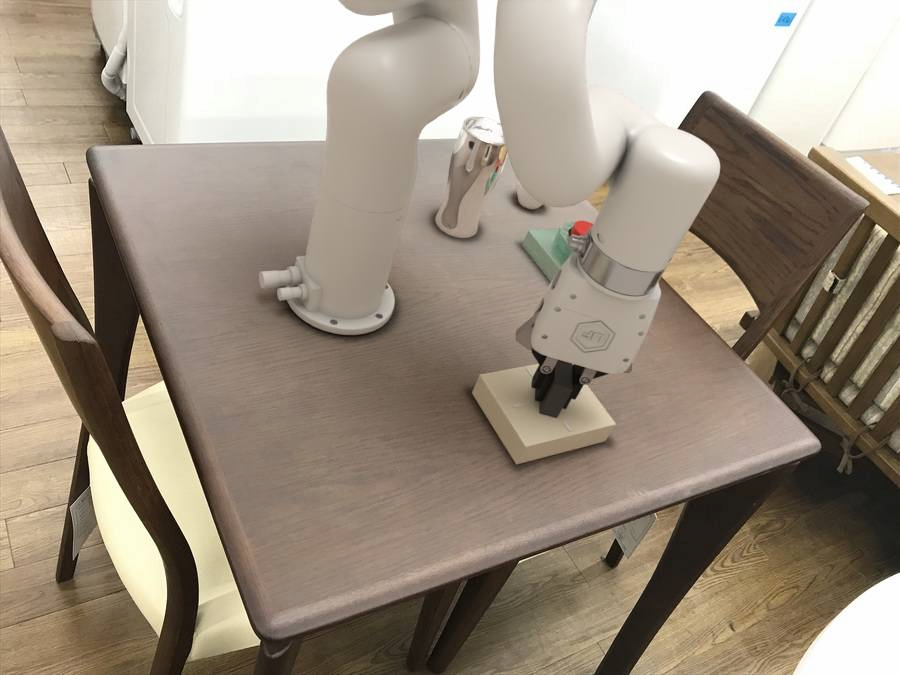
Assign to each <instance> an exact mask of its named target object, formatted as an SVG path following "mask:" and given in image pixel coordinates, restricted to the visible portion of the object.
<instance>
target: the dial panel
mask: <svg viewBox="0 0 900 675" xmlns="http://www.w3.org/2000/svg"><path fill="white" fill-rule="evenodd" d="M538 366H539V363H535V364H529V365H525V366H524V365H523V366H519V367H514V368H508V369H502V370H498V371H491V372H486V373H481V374H479V376H478V378H477V380H476V382H475V385H474V387H473V389H472V392H471V394H472V396H473V397H474V399H475V401H476V402H477V404H478V406H479V407H480V409H481V411H482V412H483V413H484V415H485V417H486V419H487V420H488V421H489V424H490V425H491V427H492V428H493V430H494V431H495V433H496V434H497V436H498V438H499V439H500V441H501V443H502V444H503V446H504V448H505V449H506V450H507V452H508V454H509V455H510V457H511V459H512V461H513V463H514V464H515V465H520V464H524V463H528V462H531V461H536V460H539V459H543V458H546V457H551V456H554V455H559V454H562V453H566V452H570V451H575V450H577V449H581V448H584V447H585V448H586V447H589V446H593V445H597V444H601V443H603V442H606V441H607V439H608V438H609V436H610V435H611V433H612V431H613V430H614V429H615V427H616V426H617V423H616V422H615V421H614V419H613V418H612V416H611V415H610V414H609V413H608V411H607V410H606V408H605V407H604V405H603V404H602V403H601V402H600V400H599V399H598V398H597V396H596V395H595V394H594V392H593V391H592V389H591V388H590V386H588V384H587V385H583V387H582V389H581V391H580V392H579V394H578V396H577V398H576V399H575V400H574V399H571V401H570V403H569V405H568V406H567V408H566V409H563V408H562V410H561V412H560V414H559V415H558V417H557V418H555V417H551V416H547V415H544V414H540V413H539V402H538V401H535V389H534V388H532V387H531V383H532V378H533V376H534V374H535V372H536V370H537V368H538Z"/></svg>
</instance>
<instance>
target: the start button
mask: <svg viewBox="0 0 900 675" xmlns="http://www.w3.org/2000/svg"><path fill="white" fill-rule="evenodd" d="M574 222H575V223H574V225H573V228H572V230H571V232H570V236H571V234H573V235H577V236H579V235H582V236H584V234H585V233H587V232H588V230H589V227H592V226H593V224H594V223H592V222H591V221H586V220H576V221H574Z"/></svg>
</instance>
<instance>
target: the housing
mask: <svg viewBox="0 0 900 675" xmlns="http://www.w3.org/2000/svg"><path fill="white" fill-rule="evenodd" d="M575 222H576V221H567V222H565V223H564V224H562V225H561V226H560V227H556V228H554V227H553V228H539V229H529V230H527V232H526V235H525V237H524V239H523V242H522V245H521V247H522V248H523V249H524V250H525V252H526V253H527V254H528V255H529V257H530V258H531V259H532V260H533V262H534V263H535V264H536V265H537V267H538V268H539V269H540V270H541V272H542V273H543V274H544V276H546V278H547V279H548V280H549V282H550V283H551V281H552V280H553V278H554V277H555V275H556V274H557V272H558V271H559V269H560V268H561V267H562V265H563V264H564V263H565V261H566V260H567V259H568V258H569V257H570V255H571V254H572V253H573V252H574V250H572V249H568V248H567V244H568V240H569V238H570V232H571V230H572V228H573V225H574V223H575Z"/></svg>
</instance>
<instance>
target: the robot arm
mask: <svg viewBox="0 0 900 675" xmlns="http://www.w3.org/2000/svg"><path fill="white" fill-rule="evenodd" d="M337 1H338V2H339V3H340V4H341V5H342V6H343V7H344V8H345V9H346V10H347V11H349V12H352V13H354V14H356V15H360V16H367V17H373V16H381V15H386V14H387V15H388V14H391V15H392V22H393V24H389V25H387V26H384V27H382V28H380V29H376V30H374V31H372V32H369V33H367V34H365V35H363V36H361V37H359V38H357V39H356V40H354V41H353V42H351V43H350V44H349V45H347V46H346V47H345V48H344V49H343V50H342V51H341V52H340V53H339V54H338V56H337V57H336V58H335V60H334V62H333V63H332V66H331V68H330V70H329V74H328V78H327V82H326V135H325V141H324V142H325V144H324V151H323V156H322V163H321V169H320V174H319V181H318V186H317V191H316V196H315V202H314V208H313V213H312V219H311V224H310V230H309V233H308V240H307V245H306V250H305V255H298V256H296V257H295V263H294V265H291V266H287V267H286V269H285V270H276V269H275V270H264V271H263V270H262V271H259V273H258V282H259V286H260V288H261V290H267V289H276V295H277V299H278V301H280V302H281V301H287V303H288V305H289V307H290V309H291V310H292V311H293V312H294V313H295V315H297V316H298V317H299V318H300V319H301V320H303V321H304V322H305V323H307V324H308V325H311V326H312V327H314V328H316V329H319V330H321V331H324V332H327V333H332V334H335V335H343V336H357V335H364V334H368V333H371V332H375V331H376V330H378V329H380V328H382V327H383V326H385V324H387V323H388V321H389V320H390V318H391V317H392V314H393V312H394V309H395V303H396V299H395V298H396V297H395V294H394V291H393V288H392V287H391V285H390V284H389V282H388V280H389V277H390V273H391V270H392V266H393V263H394V259H395V255H396V253H397V248H398V245H399V241H400V238H401V233H402V230H403V227H404V223H405V220H406V218H407V217H406V216H407V213H408V209H409V206H410V202H411V198H412V195H413V191H414V187H415V184H416V180H417V174H418V164H419V161H418V160H419V159H418V158H419V157H418V143H419V139H420V136H421V134H422V131H423V130H424V129H425V127H426V126H427V125H429V124H430V123H432V122H433V121H435V120H437V119H438V118H439V117H441V116H442V115H444V114H446V113H447V112H449V111H450V110H452V109H454V108H455V107H457V106H458V105H460V104H461V103H462V102H463V101H465V99H466V98H468V96H469V95H470V94H471V93H472V91H473V89H474V88H475V86H476V83H477V81H478V77H479V74H480V73H479V72H480V67H481V66H480V65H481V38H480V37H481V36H480V24H479V23H480V22H479V2H478V0H337ZM594 2H595V0H497V2H496V12H495V13H496V14H495V30H494V31H495V32H494V45H493V85H494V95H495V102H496V107H497V112H498V116H499V121H500V122H499V123H501V127H502V131H503V136H504V140H505V145H506V149H507V153H508V155H507V157H508V159H509V162H510V165H511V168H512V170H513V173H514V175H515V177H516V180H517V179H518V181H519V182H520V184H521V185H522V187H523V188H524V190H525V191H526V192H527V193H528V194H529V195H530V196H531V197H533V198H534V199H535V200H536V201H538V202H540V203H542V204H543V205H544V206H548V207H552V208H569V207H573V206H576V205H579V204H581V203H583V202H585V201H587V200H588V199H589V198H590V197H592V196H593V194H595V193H596V192H598V190H599V189H600V188H601V187H602V186H603V185H604V184H606V185H607V187H608V193H607V195H606V197H605V199H604V201H603V203H602V205H601V208H600V210H599V211H598V214H597V216H596V218H595V220H594V223H592V224H593V226H592V227H589V230H588V232H587V233H585V234H584V236H582V235H579V236H577V235H573V234H571V236H570V238H569V240H568V244H567V248H568V249H572V250H574V252H573V253H572V254H571V255H570V257H569V258H568V259H567V260H566V261H565V263H564V264H563V265H562V267H561V268H560V269H559V271H558V272H557V274H556V275H555V277H554V278H553V280H552V281H551V282H550V283H549V285H548V286H547V287H546V290H545V291H544V293H543V295H542V297H541V298H540V300H539V302H538V304H537V306H536V308H535V310H534V312H533V315H532V316H531V317H530V318H528V319H527V320H526V321H525V322H524V323H523V324H521V325H520V326H519V327H518V328H517V329H516V331H515V342H517V343H518V344H520V345H521V346H522V347H523V348H525V349H527V350H529V351H531V354H532V356H533V357H534V359H535V361H536V362H537V364H539V366H538V368H537V370H536V372H535V374H534V376H533V378H532V383H531V387H532V388H534V389H535V401H538V402H540V401H542V400H543V398H544V396H545V394H546V393H547V391H548V389H549V387H550V385H551V383H552V381H553V379H554V369H555V365H556V363H557V361H558V360H561V361H565V362H568V363H572V373H573V390H572V392H571V394H570V396H569V397H568V399H567V401H566V403H565V405H564V406H563V409H566V408H567V406H568V405H569V403H570V401H571V399H574V400H575V399H576V398H577V396H578V394H579V392H580V391H581V389H582V387H583V385H587V386H588V385H590V384H591V382H592V381H593V380H594V379H598V378H601V377H604V376H607V375H609V374H610V375H621V374H629V373H631V372H632V371H633V362H634V360H635V359H636V357H637V355H638V353H639V351H640V349H641V347H642V345H643V343H644V341H645V338H646V336H647V334H648V331H649V329H650V327H651V324H652V322H653V320H654V317H655V314H656V311H657V309H658V306H659V303H660V300H661V295H662V290H661V287H660V284H659V281H660V280H661V279H662V277H663V274H664V273H665V271H666V270H667V268H668V266H669V264H670V263H671V261H672V259H673V258H674V256H675V254H676V253H677V251H678V249H679V248H680V245H681V244H682V242H683V240H684V238H685V237H686V235H687V233H688V232H689V230H690V229H691V227H692V225H693V223H694V222H695V220H696V218H697V217H698V214H699V213H700V212H701V210H702V208H703V206H704V204H705V202H706V201H707V199H708V198H709V196H710V195H711V193H712V191H713V189H714V188H715V186H716V184H717V182H718V179H719V177H720V172H721V163H720V159H719V157H718V155H717V153H716V152H715V150H714V149H713V148H712V147H711V146H710V145H709V144H708V143H706V142H705V141H704V140H702V139H701V138H700V137H697V136H696V135H694V134H691V133H689V132H687V131H685V130H682V129H679V128H676V127H672V126H669V125H666V124H665V123H664V122H662V121H661V120H659V119H658V118H656V117H655V116H654V115H652V114H651V113H650V112H648V111H647V110H646V109H644V108H643V107H641V105H639V104H638V103H637V102H635V101H633V100H632V99H631V98H630V97H629V96H627V95H626V94H624V93H622V92H620V91H619V90H617V89H615V88H613V87H610V86H607V85H602V84H589V85H588V81H587V65H586V58H587V57H586V56H587V55H586V53H587V52H586V48H587V35H588V28H589V27H588V26H589V21H590V18H591V12H592V9H593V5H594Z"/></svg>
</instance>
